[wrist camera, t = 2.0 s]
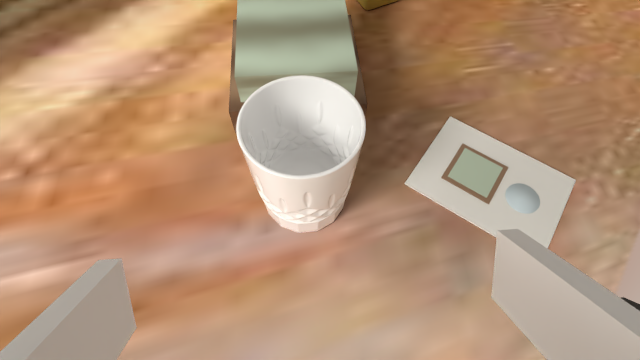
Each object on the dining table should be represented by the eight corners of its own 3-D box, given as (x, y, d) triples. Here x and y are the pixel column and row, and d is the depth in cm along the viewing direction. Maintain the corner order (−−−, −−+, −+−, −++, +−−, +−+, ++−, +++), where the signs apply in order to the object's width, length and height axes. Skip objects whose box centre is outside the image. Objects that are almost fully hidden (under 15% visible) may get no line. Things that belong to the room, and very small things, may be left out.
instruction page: (404, 184, 32) (405, 182, 31) (449, 117, 35) (450, 115, 35) (540, 263, 28) (542, 262, 28) (574, 181, 32) (577, 178, 32)
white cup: (238, 195, 31) (209, 120, 22) (306, 142, 34) (304, 57, 25) (302, 260, 28) (297, 205, 20) (370, 196, 31) (392, 123, 22)
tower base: (363, 125, 35) (371, 79, 30) (235, 132, 34) (221, 87, 29) (348, 38, 41) (353, -13, 35) (238, 43, 40) (227, -8, 35)
